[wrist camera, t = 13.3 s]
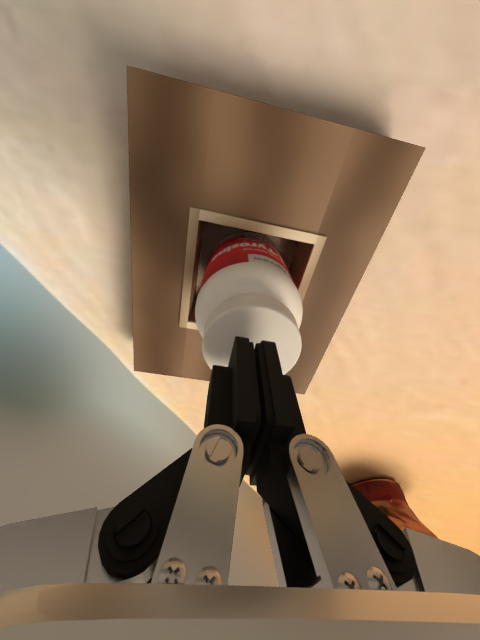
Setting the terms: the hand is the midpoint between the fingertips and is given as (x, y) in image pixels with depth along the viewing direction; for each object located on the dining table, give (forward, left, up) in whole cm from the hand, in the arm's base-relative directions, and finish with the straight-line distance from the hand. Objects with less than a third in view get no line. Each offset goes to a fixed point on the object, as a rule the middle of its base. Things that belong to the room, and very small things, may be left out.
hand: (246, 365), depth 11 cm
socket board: (0, 0, -12) cm, 12 cm away
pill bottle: (0, 0, -12) cm, 12 cm away
